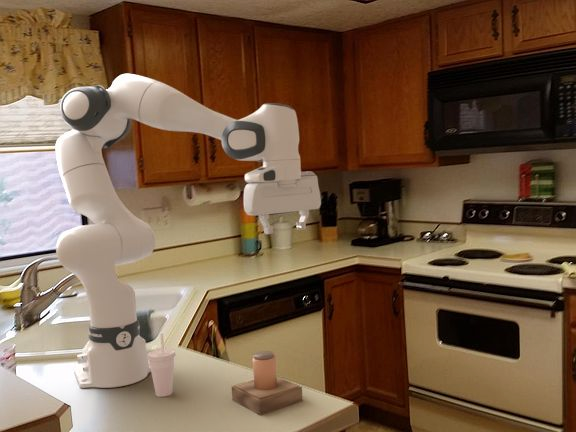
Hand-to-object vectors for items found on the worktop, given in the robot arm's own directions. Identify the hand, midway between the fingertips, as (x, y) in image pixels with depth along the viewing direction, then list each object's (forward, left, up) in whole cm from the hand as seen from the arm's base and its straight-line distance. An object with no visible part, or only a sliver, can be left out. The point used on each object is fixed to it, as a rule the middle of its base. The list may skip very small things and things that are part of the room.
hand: (285, 231), depth 143 cm
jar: (+8, -13, -32) cm, 35 cm away
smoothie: (-12, -28, -35) cm, 47 cm away
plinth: (+8, -13, -35) cm, 38 cm away
